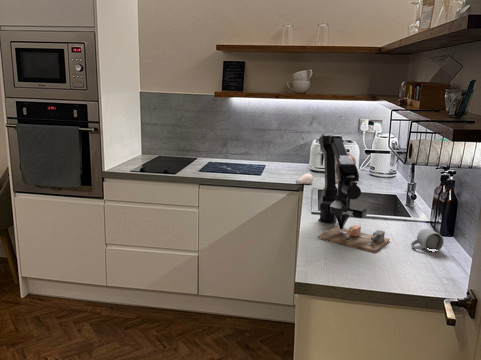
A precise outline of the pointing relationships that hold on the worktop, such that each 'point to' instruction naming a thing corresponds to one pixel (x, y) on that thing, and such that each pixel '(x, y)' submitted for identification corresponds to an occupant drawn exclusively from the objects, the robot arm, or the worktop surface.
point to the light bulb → (305, 179)
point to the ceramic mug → (428, 240)
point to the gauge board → (356, 239)
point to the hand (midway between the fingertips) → (341, 229)
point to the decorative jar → (336, 165)
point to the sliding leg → (353, 231)
